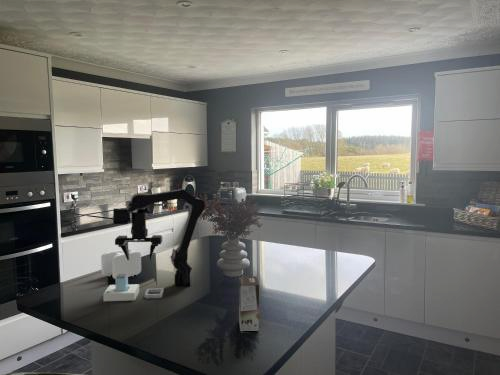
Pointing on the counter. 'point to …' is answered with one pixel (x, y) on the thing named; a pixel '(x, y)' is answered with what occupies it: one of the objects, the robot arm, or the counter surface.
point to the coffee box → (249, 303)
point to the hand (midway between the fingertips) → (139, 259)
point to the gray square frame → (159, 290)
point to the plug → (121, 282)
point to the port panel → (121, 293)
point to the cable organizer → (120, 263)
